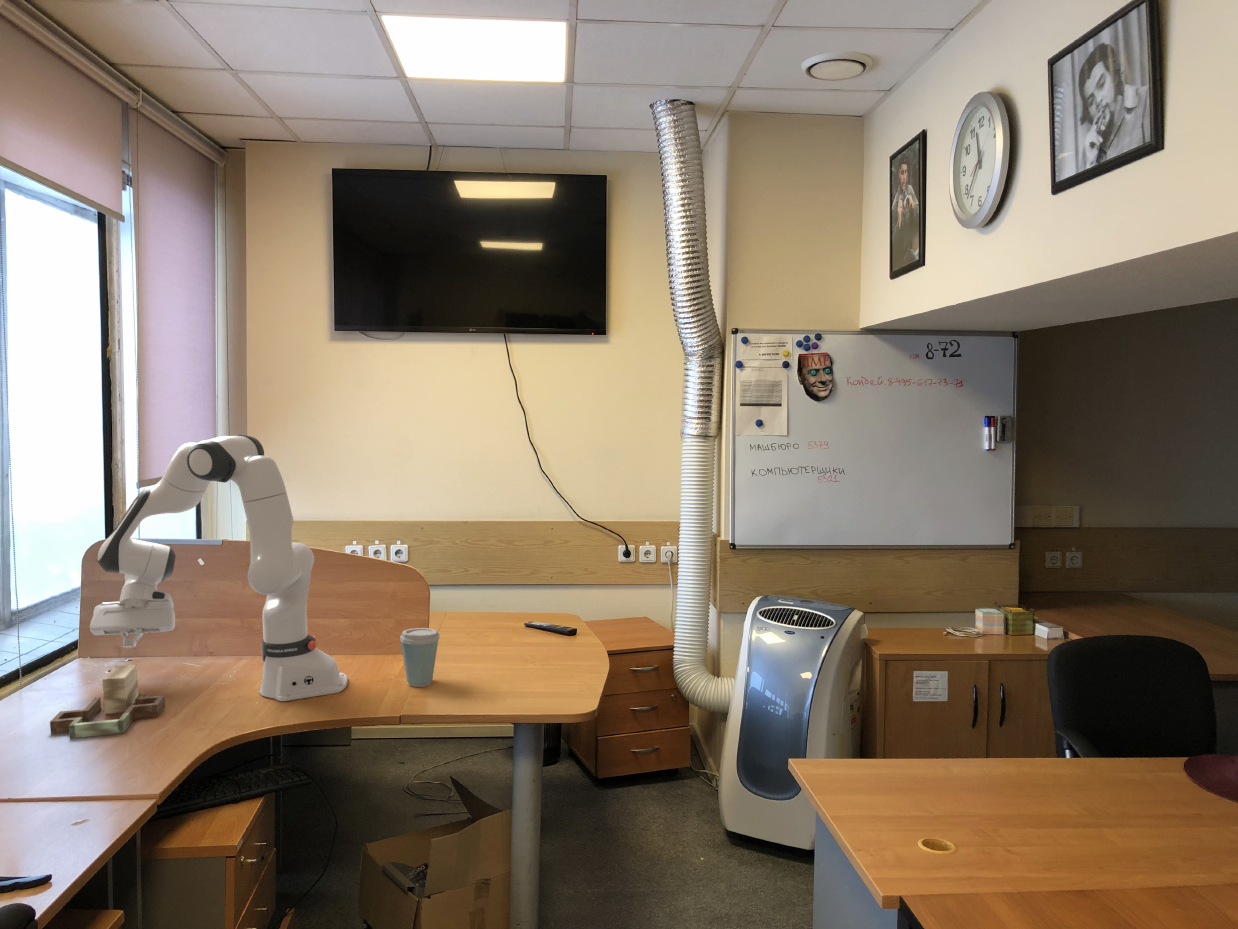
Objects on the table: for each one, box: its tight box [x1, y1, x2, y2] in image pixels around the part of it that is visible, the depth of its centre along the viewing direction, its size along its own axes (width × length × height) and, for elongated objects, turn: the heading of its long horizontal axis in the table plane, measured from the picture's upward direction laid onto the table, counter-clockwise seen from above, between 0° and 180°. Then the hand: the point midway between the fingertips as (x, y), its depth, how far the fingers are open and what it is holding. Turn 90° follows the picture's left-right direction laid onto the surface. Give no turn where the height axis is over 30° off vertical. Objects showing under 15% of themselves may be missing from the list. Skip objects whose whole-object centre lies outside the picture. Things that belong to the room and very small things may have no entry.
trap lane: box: [49, 692, 166, 739], centre depth 208 cm, size 22×18×3 cm
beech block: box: [101, 664, 139, 715], centre depth 217 cm, size 5×10×9 cm, turn 15°
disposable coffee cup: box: [399, 627, 440, 688], centre depth 232 cm, size 11×11×15 cm
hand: (128, 646), depth 225 cm, fingers closed
